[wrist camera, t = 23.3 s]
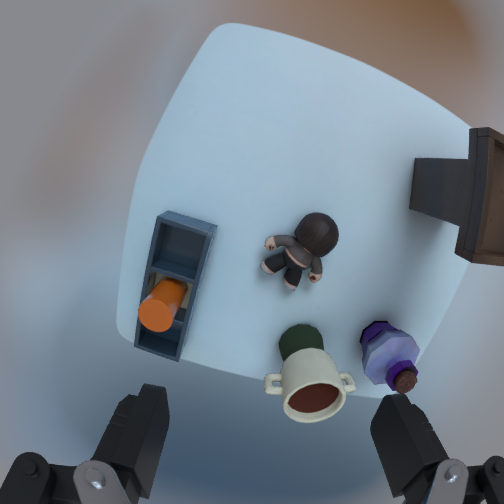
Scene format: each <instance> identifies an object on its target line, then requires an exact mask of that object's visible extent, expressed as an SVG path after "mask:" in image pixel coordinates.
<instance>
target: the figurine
mask: <svg viewBox="0 0 504 504" xmlns="http://www.w3.org/2000/svg"><path fill="white" fill-rule="evenodd" d="M294 233H295V236H296V238H295V237H292V236H289V235H276V236H272V237H269V238H268V239H266V241H265V246H264V247H265V248H266V249H267V250H271V246H273V247H272V250H275V249H276V248H278V247H279V246H285V247H286V248H285V250H284V252H283V253H281V254H278V255H275V256H272V257H270V258H268V259H266V260H265V261H263V262H262V263H260V267H261V269H262V270H263V271H264V272H266V273H267V274H270V275H272V274H274V273H276V272H277V271H279V270H281V269H282V268H284V267H286V266H287V267H288V269H287V271H286V273H285V275H284V278H283V282H284V284H285V285H286V287H287V288H289V289H290V290H293V291H295V290H296V288H297V286H298V284H299V282H300V279H301V275H302V270H304V269H306V268H308V267H309V266H310V265H311V267H312V269H311V271H310V273H309V279H310V280H311V282H313V283H315V282H317V281H319V280H320V279H321V277H322V264H321V260H320V258H319V257H323V256H325V255H326V254H328V253H329V252H330V251H331V250H332V249H333V248H334V247H335V246H336V244H337V242H338V237H339V233H338V228H337V225H336V224H335V222H334V220H333V219H332V218H330V217H329V216H328V215H325V214H322V213H310V214H308V215H306V216H305V217H304V218H303V219H302V220H301V221H300V223H299V225H298V226H297V228H296V230H295V232H294Z"/></svg>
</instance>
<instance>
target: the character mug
mask: <svg viewBox="0 0 504 504" xmlns="http://www.w3.org/2000/svg"><path fill="white" fill-rule="evenodd" d="M279 347H280V352H281V356H282V359H283V361H284V363H283V366H282V368H281V371H280V373H279V374H266V375H265V377H264V390H265V392H266V393H267V394H269V395H282V401H283V408H284V411H285V413H286V414H287V415H288V417H289V418H291V419H293V420H295V421H297V422H303V423H314V422H318V421H322V420H324V419H326V418H329V417H331V416H333V415H334V414H335V413H336V412H337V411H338V410H340V409H341V407H342V406H343V404H344V403H345V397H346V393H349V392H353V391H355V390H356V386H355V383H354V380H353V378H352V376H351V374H350V373H346V372H345V373H339V372H338V369H337V367H336V364H335V362H334V361H333V359H332V357H331V356H330V355H329V354H328V353H326V352H325V351H324V346H323V339H322V335H321V334H320V333H319V331H318V330H317V329H316V328H314V327H312V326H310V325H303V324H298V325H296V326H294V327H291V328H289V329H288V330H287V331H286V332H285V333H284V334H283V335H282V337H281V339H280V342H279ZM342 380H345V381H346V384H347V385H343V383H342ZM273 382H280V383H281V387H273Z"/></svg>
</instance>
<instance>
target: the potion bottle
mask: <svg viewBox="0 0 504 504" xmlns="http://www.w3.org/2000/svg"><path fill="white" fill-rule="evenodd" d="M360 343H361V345H362V351H363V357H362V362H363V370H364V374H365V375H366V376H367V377H368V378H369V379H370V380H371V382H372V383H373V384H385V383H387V384H388V386H389V387H390V388H391V389H392V391H397V392H398V393H400V394H401V393H407V392H408V391H410V390H411V389H413V388H414V386H415V384H416V383H417V378H416V376H417V374H418V371H417V369H416V367H415V366H414V364H415V361H416V359H417V356H418V354H419V351H420V349H419V347H418V346H417V344H416V342H415V341H414V339H413V337H412V336H410V335H409V334H407V333H405V332H404V331H402V330H398V329H396V328H395V327H393V326H391V325H390V324H389V323H388V322H387V321H374V322H373V323H371V324H370V325H369V326H367V327H366V328H365V329H364V330H363V332H362V335H361V339H360Z"/></svg>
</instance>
